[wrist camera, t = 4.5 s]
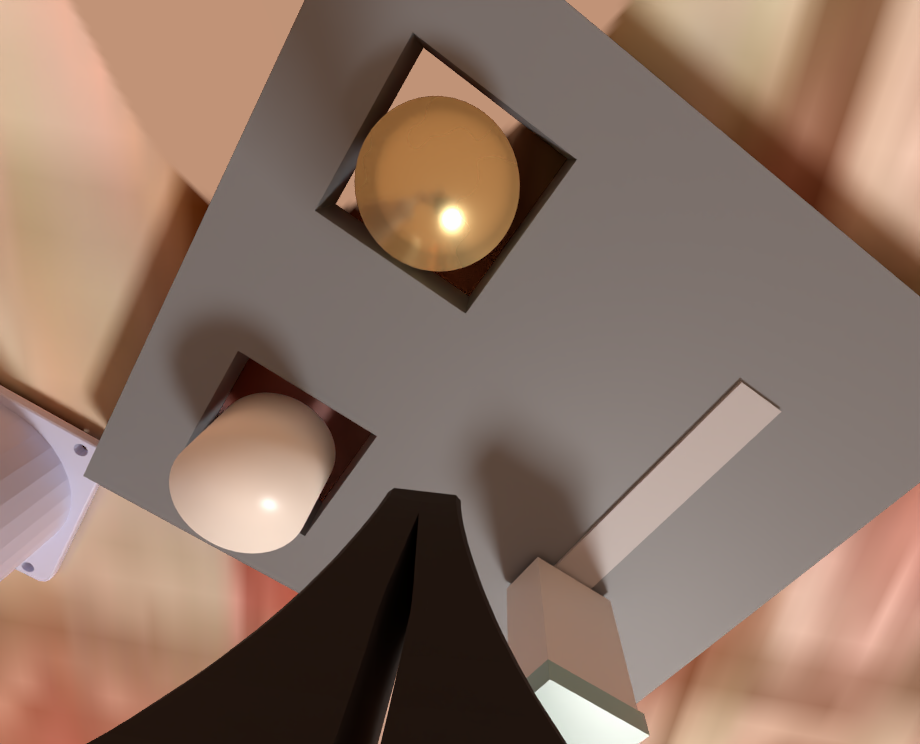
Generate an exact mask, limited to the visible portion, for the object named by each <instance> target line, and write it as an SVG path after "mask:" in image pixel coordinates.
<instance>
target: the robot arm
mask: <svg viewBox="0 0 920 744" xmlns="http://www.w3.org/2000/svg"><path fill="white" fill-rule="evenodd" d="M99 441H100V440H98V439H96V438H94V437H93V436H91V435H89V434H87V433H85V432H84V431H82V430H80V429H78V428H76V427H75V426H73V425H71V424H69V423H67V422H66V421H64V420H62V419H60V418H58V417H57V416H55V415H53V414H51V413H49V412H48V411H46V410H44V409H42V408H41V407H39V406H37V405H35V404H33V403H32V402H30V401H28V400H26V399H24V398H23V397H21V396H19V395H17V394H15V393H14V392H12V391H10V390H8V389H6V388H5V387H3V386H1V385H0V582H1V581H2V580H3V579H4V578H5V577H6V576H7V575H9V574H10V573H11V572H12V571H13V570H14V569H16V570H18V571H20V572H22V573H24V574H26V575H28V576H30V577H32V578H34V579H36V580H39V581H48V580H50V579H51V578H52V577H53V576H54V575H55V574H56V573H57V571H58V569H59V567H60V565H61V563H62V561H63V559H64V557H65V555H66V553H67V551H68V549H69V547H70V545H71V543H72V540H73V538H74V536H75V534H76V532H77V530H78V528H79V526H80V524H81V522H82V520H83V518H84V516H85V514H86V512H87V510H88V508H89V505H90V503H91V501H92V499H93V497H94V495H95V493H96V491H97V489H98V487H99V484H97V483H95V482H93V481H92V480H90V479H88V478H86V477H84V476H83V475H84V473H85V471H86V469H87V466H88V464H89V462H90V460H91V458H92V456H93V454H94V451H95V449H96V447H97V445H98V443H99ZM82 445H83V446H85V447H86V449H87V450H86V449H85V448H83V446H82ZM398 666H399V667H398ZM397 670H398V671H397ZM396 674H397V676H396ZM395 678H396V680H395ZM394 681H395V685H394ZM393 685H394V689H393ZM392 689H393V694H392V698H391V702H390V707H389V711H388V715H387V719H386V724H385V728H384V732H383V736H382V740H381V744H567V743H566V741H565V740H564V738H563V737H562V735H561V733H560V732H559V730H558V729H557V727H556V726H555V724H554V723H553V721H552V719H551V718H550V716H549V715H548V713H547V712H546V710H545V709H544V707H543V705H542V704H541V702H540V701H539V699H538V698H537V696H536V694H535V693H534V691H533V689H532V687H531V686H530V684H529V682H528V680H527V678H526V677H525V675H524V673H523V671H522V670H521V668H520V666H519V664H518V662H517V660H516V658H515V656H514V655H513V653H512V651H511V649H510V647H509V645H508V643H507V641H506V639H505V637H504V635H503V633H502V631H501V628H500V626H499V624H498V622H497V620H496V618H495V615H494V613H493V611H492V608H491V606H490V603H489V601H488V599H487V596H486V594H485V591H484V589H483V586H482V584H481V581H480V578H479V575H478V572H477V569H476V566H475V563H474V560H473V558H472V555H471V551H470V548H469V544H468V541H467V537H466V533H465V529H464V524H463V519H462V511H461V500H460V499H459V498H458V497H457V495H452V494H443V493H434V492H426V491H417V490H409V489H400V488H393V489H392V490H390V491H389V492H388V493H387V494H386V496H385V497H384V499H383V500H382V502H381V503H380V504H379V506H378V507H377V509H376V510H375V511H374V512H373V514H372V515H371V516H370V518H369V519H368V520H367V521H366V522H365V524H364V525H363V526H362V527H361V529H360V530H359V531H358V532H357V533H356V534H355V536H354V537H353V538H352V539H351V540H350V541H349V542H348V543H347V545H346V546H345V547H344V548H343V549H342V550H341V551H340V552H339V554H338V555H337V556H336V557H335V558H334V559H333V560H332V561H331V562H330V563H329V564H328V565H327V566H326V567H325V568H324V569H323V570H322V571H321V572H320V573H319V574H318V575H317V576H316V577H315V578H314V579H313V580H312V581H311V582H310V583H309V584H308V585H307V586H306V587H305V588H304V589H303V590H302V591H301V592H300V593H299V594H297V595H296V596H295V597H294V598H293V599H292V600H291V601H290V602H289V603H288V604H286V605H285V606H284V607H283V608H282V609H281V610H280V611H279V612H277V613H276V614H275V615H274V616H273V617H271V618H270V619H269V620H268V621H267V622H265V623H264V624H263V625H262V626H261V627H260V628H258V629H257V630H256V631H255V632H253V633H252V634H251V635H249V636H248V637H247V638H246V639H244V640H243V641H242V642H240V643H239V644H238V645H236V646H235V647H234V648H232V649H231V650H230V651H229V652H227V653H226V654H225V655H223V656H222V657H221V658H219V659H218V660H217V661H215V662H214V663H213V664H211V665H210V666H208V667H207V668H206V669H204V670H203V671H201V672H200V673H199V674H197V675H196V676H194V677H193V678H191V679H190V680H188V681H187V682H185V683H184V684H182V685H181V686H179V687H177V688H176V689H174V690H173V691H171V692H170V693H168V694H167V695H165V696H164V697H162V698H161V699H159V700H158V701H156V702H155V703H153V704H151V705H150V706H148V707H147V708H145V709H144V710H142V711H141V712H139V713H138V714H136V715H135V716H133V717H131V718H130V719H128V720H127V721H125V722H123V723H122V724H120V725H118V726H117V727H115V728H114V729H112V730H110V731H109V732H107V733H105V734H103V735H101V736H100V737H98V738H96V739H94V740H93V741H91V742H89V743H87V744H378V741H379V737H380V733H381V729H382V726H383V722H384V718H385V715H386V711H387V707H388V704H389V700H390V696H391V692H392Z"/></svg>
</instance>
